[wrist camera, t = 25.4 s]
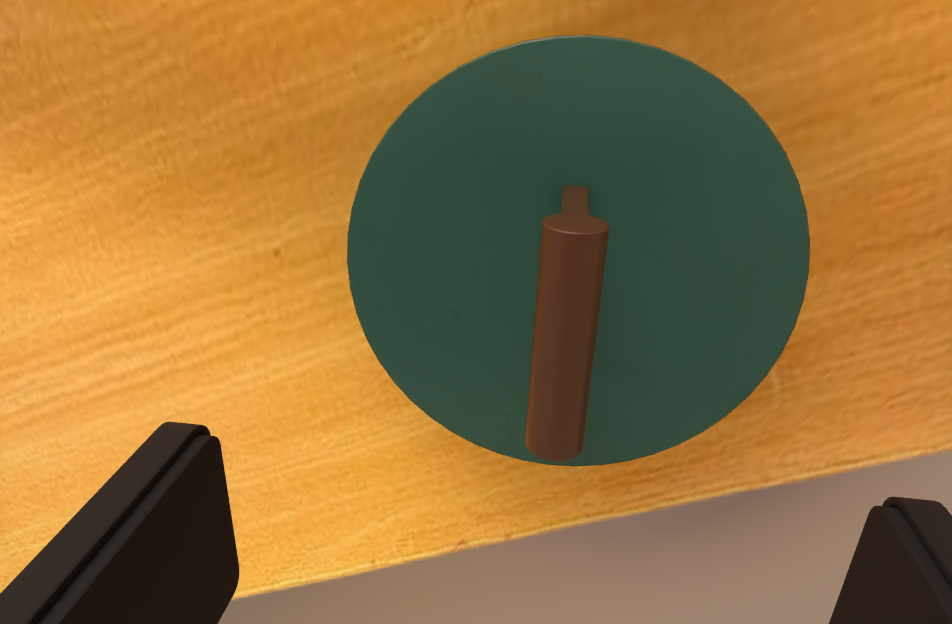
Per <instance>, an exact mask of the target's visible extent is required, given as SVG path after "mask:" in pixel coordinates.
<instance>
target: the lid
mask: <svg viewBox="0 0 952 624" xmlns="http://www.w3.org/2000/svg"><path fill="white" fill-rule="evenodd" d="M809 257H810V236H809V228H808V219H807V211H806V207H805V203H804V200H803V196H802V193H801V189H800V185H799V182H798V179H797V177H796V175H795V172H794V170H793V168H792V166H791V164H790V161H789V159H788V157H787V155H786V152H785V151H784V149H783V148H782V146H781V145H780V143H779V142H778V140H777V138H776V137H775V135H774V134H773V132H772V131H771V129H770V128H769V126H768V125H767V124H766V122H765V121H764V120H763V119H762V118H761V117H760V116H759V115H758V113H757V112H756V111H755V110H754V109H753V108H752V107H751V106H750V104H749V103H748V102H747V101H746V100H745V99H744V98H742V97H741V96H740V95H739V94H738V93H736V92H735V91H734V90H733V89H731V88H730V87H729V86H728V85H727V84H725V83H724V82H723V81H722V80H721V79H719V78H718V77H716V76H714V75H713V74H711V73H709V72H708V71H706V70H704V69H703V68H701V67H699V66H698V65H696V64H694V63H693V62H691V61H689V60H687V59H685V58H682V57H680V56H678V55H675V54H673V53H670V52H668V51H666V50H663V49H661V48H659V47H655V46H651V45H648V44H644V43H640V42H636V41H632V40H628V39H625V38H616V37H607V36H598V35H559V36H551V37H545V38H539V39H533V40H527V41H522V42H519V43H516V44H513V45H509V46H506V47H503V48H500V49H497V50H493V51H491V52H489V53H486V54H484V55H482V56H480V57H478V58H476V59H474V60H472V61H470V62H468V63H465V64H463V65H461V66H459V67H458V68H456V69H455V70H453V71H452V72H450V73H449V74H447V75H446V76H444V77H443V78H441V79H440V80H438V81H437V82H435V83H434V84H432V85H431V86H430V87H429V88H428V89H426V90H425V91H424V92H423V93H422V94H421V95H420V96H418V97H417V98H416V99H415V100H414V101H413V102H412V103H411V104H409V105H408V106H407V108H406V109H405V110H404V111H403V112H402V113H401V115H400V116H399V117H398V118H397V119H396V120H395V122H394V123H393V124H392V125H391V126H390V127H389V129H388V130H387V132H386V133H385V135H384V136H383V138H382V139H381V141H380V143H379V144H378V146H377V147H376V149H375V150H374V152H373V153H372V156H371V158H370V160H369V162H368V164H367V166H366V169H365V171H364V173H363V175H362V177H361V179H360V182H359V186H358V189H357V192H356V196H355V199H354V202H353V206H352V211H351V217H350V223H349V230H348V248H347V264H348V273H349V281H350V289H351V293H352V297H353V301H354V305H355V309H356V313H357V316H358V318H359V321H360V323H361V326H362V328H363V331H364V334H365V336H366V338H367V340H368V342H369V344H370V346H371V348H372V349H373V351H374V353H375V355H376V357H377V359H378V360H379V362H380V363H381V365H382V366H383V367H384V369H385V370H386V372H387V373H388V374H389V376H390V377H391V379H392V380H393V381H394V383H395V384H396V385H397V386H398V387H399V388H400V389H401V390H402V391H403V392H404V393H405V395H406V396H407V397H408V398H409V399H410V400H411V401H412V402H413V403H414V404H416V405H417V406H418V407H419V408H420V409H421V410H423V411H424V412H425V413H426V414H427V415H428V416H429V417H431V418H432V419H434V420H435V421H437V422H438V423H440V424H441V425H442V426H444V427H445V428H447V429H448V430H450V431H451V432H453V433H455V434H457V435H459V436H461V437H462V438H464V439H466V440H468V441H470V442H472V443H474V444H476V445H479V446H481V447H484V448H486V449H489V450H491V451H494V452H496V453H499V454H502V455H506V456H509V457H513V458H517V459H520V460H524V461H530V462H536V463H542V464H548V465H562V466H592V465H605V464H612V463H618V462H625V461H630V460H634V459H637V458H641V457H645V456H649V455H652V454H655V453H658V452H661V451H663V450H666V449H668V448H671V447H673V446H676V445H679V444H681V443H683V442H684V441H686V440H688V439H690V438H692V437H694V436H696V435H698V434H700V433H702V432H703V431H705V430H706V429H708V428H709V427H711V426H712V425H714V424H715V423H717V422H718V421H720V420H721V419H722V418H724V417H725V416H727V415H728V414H729V413H730V412H731V411H732V410H734V409H735V408H736V407H737V406H738V405H739V404H740V403H741V402H743V401H744V400H745V399H746V398H747V397H748V396H749V395H750V394H751V393H752V391H753V390H754V389H755V388H756V387H757V386H758V385H759V384H760V382H761V381H762V380H763V379H764V378H765V377H766V375H767V374H768V372H769V371H770V370H771V368H772V367H773V365H774V364H775V362H776V361H777V359H778V358H779V356H780V355H781V353H782V351H783V349H784V347H785V345H786V343H787V341H788V339H789V337H790V335H791V333H792V331H793V329H794V327H795V324H796V321H797V318H798V315H799V312H800V309H801V306H802V303H803V300H804V296H805V290H806V285H807V279H808V274H809Z"/></svg>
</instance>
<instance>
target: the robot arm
mask: <svg viewBox="0 0 952 624" xmlns="http://www.w3.org/2000/svg"><path fill="white" fill-rule="evenodd" d="M238 579H239V563H238V557H237V550H236V543H235V537H234V530H233V524H232V517H231V510H230V504H229V497H228V491H227V484H226V477H225V471H224V464H223V458H222V451H221V445H220V441H219V439H218V438H217V437H215V436H211V435H210V431H209V430H208V428H207V427H206V426H203V425H196V424H186V423H177V422H166V423H163V424H162V425H161V426H159V427H158V428H157V430H156V431H155V432H154V433H153V434H152V435H151V436H150V437H149V438H148V439H147V440H146V441H145V442H144V443H143V444H142V445H141V446H140V447H139V448H138V450H137V451H136V452H135V453H134V454H133V455H132V456H131V457H130V458H129V459H128V460H127V461H126V462H125V463H124V464H123V465H122V466H121V467H120V468H119V469H118V471H117V472H116V473H115V474H114V475H113V476H112V477H111V478H110V479H109V480H108V481H107V482H106V483H105V484H104V485H103V486H102V487H101V488H100V489H99V491H98V492H97V493H96V494H95V495H94V496H93V497H92V498H91V499H90V500H89V501H88V502H87V503H86V504H85V505H84V506H83V507H82V508H81V509H80V511H79V512H78V513H77V514H76V515H75V516H74V517H73V518H72V519H71V520H70V521H69V522H68V523H67V524H66V525H65V526H64V527H63V528H62V529H61V531H60V532H59V533H58V534H57V535H56V536H55V537H54V538H53V539H52V540H51V541H50V542H49V543H48V544H47V545H46V546H45V547H44V548H43V549H42V550H41V552H40V553H39V554H38V555H37V556H36V557H35V558H34V559H33V560H32V561H31V562H30V563H29V564H28V565H27V566H26V567H25V568H24V569H23V570H22V572H21V573H20V574H19V575H18V576H17V577H16V578H15V579H14V580H13V581H12V582H11V583H10V584H9V585H8V586H7V587H6V588H5V589H4V590H3V592H2V593H1V594H0V624H217V623H218V622H219V620H220V618H221V616H222V615H223V613H224V611H225V609H226V607H227V605H228V604H229V602H230V600H231V599H232V597H233V595H234V593H235V590H236V587H237V584H238ZM829 624H952V516H951V514H950V513H949V512H948V510H947V509H946V508H945V507H944V506H943V505H942V504H941V503H939V502H936V501H931V500H920V499H911V498H902V497H890V498H888V499H887V500H886V501H884V503H883V505H882V506H874V507H873V508H872V509H871V510H870V512H869V514H868V517H867V520H866V523H865V525H864V528H863V531H862V534H861V536H860V539H859V542H858V545H857V548H856V550H855V553H854V556H853V559H852V562H851V564H850V567H849V570H848V572H847V575H846V578H845V581H844V584H843V586H842V589H841V592H840V595H839V597H838V600H837V603H836V606H835V608H834V611H833V614H832V617H831V619H830V622H829Z"/></svg>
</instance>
